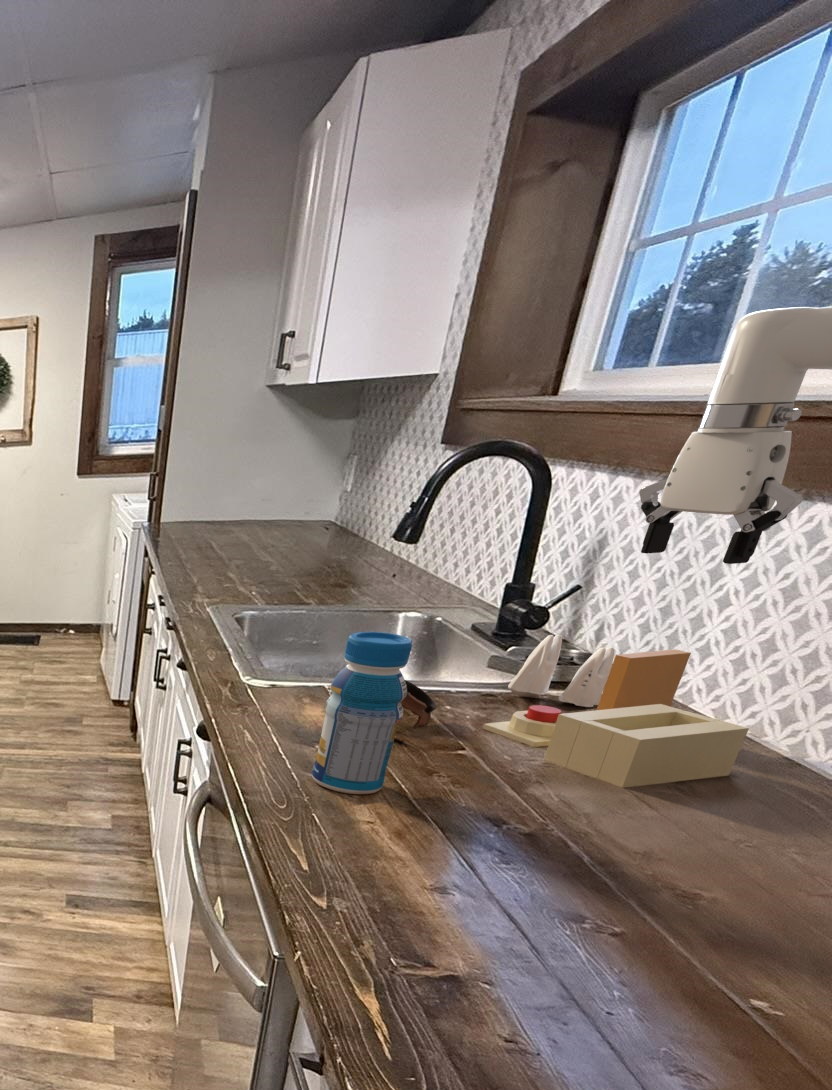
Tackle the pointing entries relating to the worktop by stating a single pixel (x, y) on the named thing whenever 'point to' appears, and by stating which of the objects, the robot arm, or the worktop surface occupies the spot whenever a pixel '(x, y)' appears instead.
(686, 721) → the toaster
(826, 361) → the robot arm
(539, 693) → the shaker set
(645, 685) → the toast
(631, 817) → the worktop surface
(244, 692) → the worktop surface
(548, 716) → the pop button
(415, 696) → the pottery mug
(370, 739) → the beverage bottle
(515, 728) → the button block
